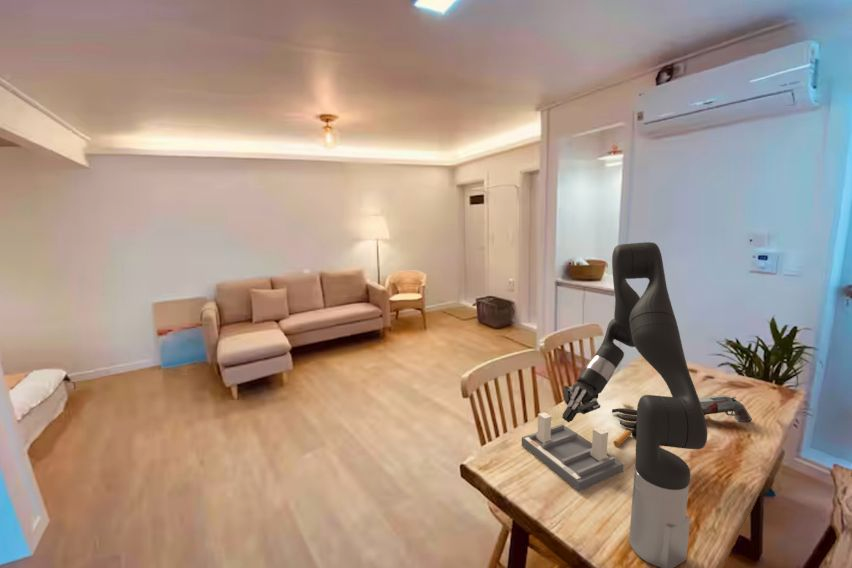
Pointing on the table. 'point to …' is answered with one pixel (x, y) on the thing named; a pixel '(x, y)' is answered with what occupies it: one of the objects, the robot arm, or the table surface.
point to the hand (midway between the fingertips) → (565, 420)
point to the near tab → (599, 444)
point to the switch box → (572, 458)
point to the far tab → (544, 427)
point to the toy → (626, 424)
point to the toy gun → (725, 407)
